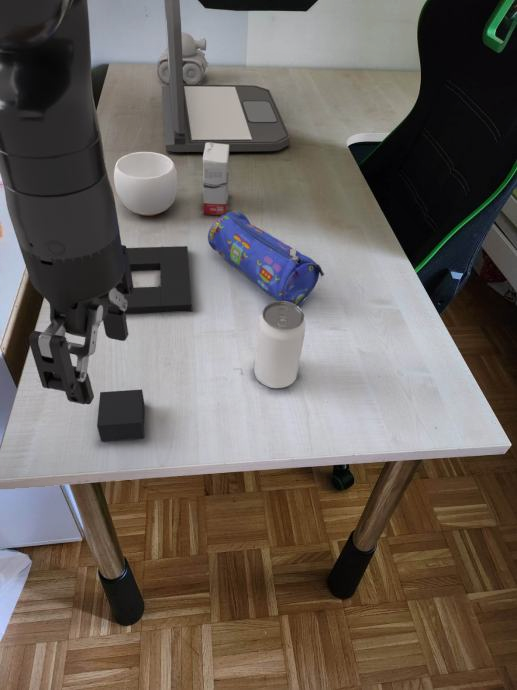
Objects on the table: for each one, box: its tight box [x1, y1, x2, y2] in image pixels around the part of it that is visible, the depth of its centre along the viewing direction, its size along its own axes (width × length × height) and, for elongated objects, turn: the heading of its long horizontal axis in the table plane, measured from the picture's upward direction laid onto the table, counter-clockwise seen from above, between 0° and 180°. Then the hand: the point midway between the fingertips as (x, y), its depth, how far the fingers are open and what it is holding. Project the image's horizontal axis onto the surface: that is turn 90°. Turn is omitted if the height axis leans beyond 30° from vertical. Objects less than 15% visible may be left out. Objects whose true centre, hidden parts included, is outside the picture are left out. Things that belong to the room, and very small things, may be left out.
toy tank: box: [156, 31, 209, 85], centre depth 154 cm, size 15×11×13 cm
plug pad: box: [96, 389, 146, 442], centre depth 68 cm, size 6×6×4 cm
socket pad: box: [121, 245, 193, 315], centre depth 90 cm, size 16×16×2 cm
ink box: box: [202, 143, 230, 216], centre depth 105 cm, size 9×5×12 cm, turn 179°
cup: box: [113, 151, 178, 217], centre depth 104 cm, size 12×12×10 cm
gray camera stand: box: [161, 0, 291, 153], centre depth 128 cm, size 38×31×32 cm
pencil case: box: [207, 211, 325, 307], centre depth 90 cm, size 22×9×10 cm, turn 42°
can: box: [253, 300, 307, 389], centre depth 73 cm, size 6×6×12 cm
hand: (100, 367), depth 51 cm, fingers open, 8 cm apart
